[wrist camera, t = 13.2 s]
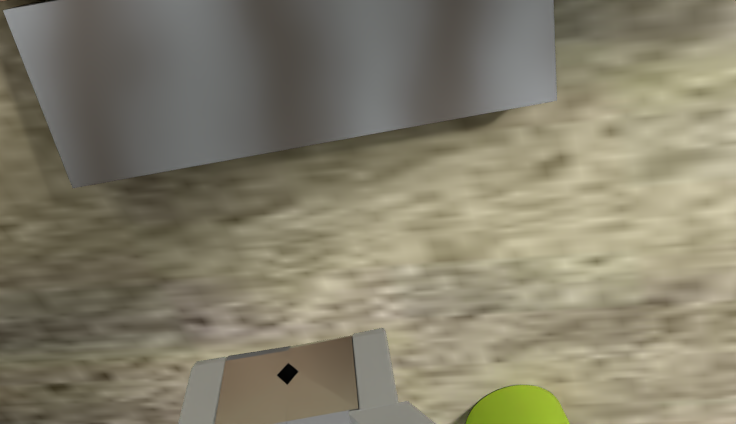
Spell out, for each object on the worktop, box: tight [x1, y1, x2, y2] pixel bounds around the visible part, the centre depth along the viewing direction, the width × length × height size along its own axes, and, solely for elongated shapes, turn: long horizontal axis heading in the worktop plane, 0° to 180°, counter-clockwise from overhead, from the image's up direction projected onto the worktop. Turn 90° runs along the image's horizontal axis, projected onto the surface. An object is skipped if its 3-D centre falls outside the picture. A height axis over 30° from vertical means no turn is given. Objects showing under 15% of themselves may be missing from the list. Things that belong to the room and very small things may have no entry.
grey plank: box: [3, 0, 557, 188], centre depth 25 cm, size 20×7×2 cm, turn 99°
